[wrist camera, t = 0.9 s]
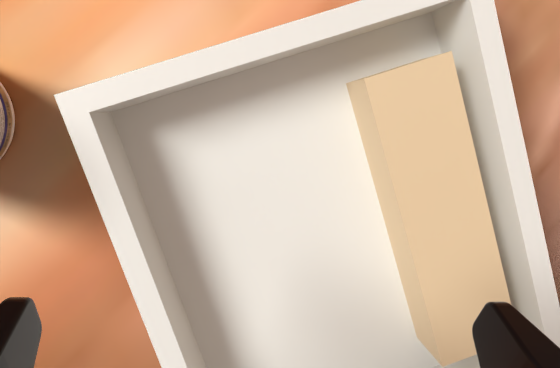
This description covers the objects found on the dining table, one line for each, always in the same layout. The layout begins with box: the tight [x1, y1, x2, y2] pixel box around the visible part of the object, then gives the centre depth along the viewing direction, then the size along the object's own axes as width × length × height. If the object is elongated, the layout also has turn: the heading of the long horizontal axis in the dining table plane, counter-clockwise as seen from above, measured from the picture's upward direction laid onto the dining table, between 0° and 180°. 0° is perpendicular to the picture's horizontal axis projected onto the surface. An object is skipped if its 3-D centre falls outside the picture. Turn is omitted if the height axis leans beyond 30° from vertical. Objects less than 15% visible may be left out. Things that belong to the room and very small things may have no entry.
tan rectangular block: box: [346, 51, 511, 367], centre depth 23 cm, size 4×14×3 cm, turn 17°
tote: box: [54, 0, 560, 368], centre depth 22 cm, size 18×20×4 cm
